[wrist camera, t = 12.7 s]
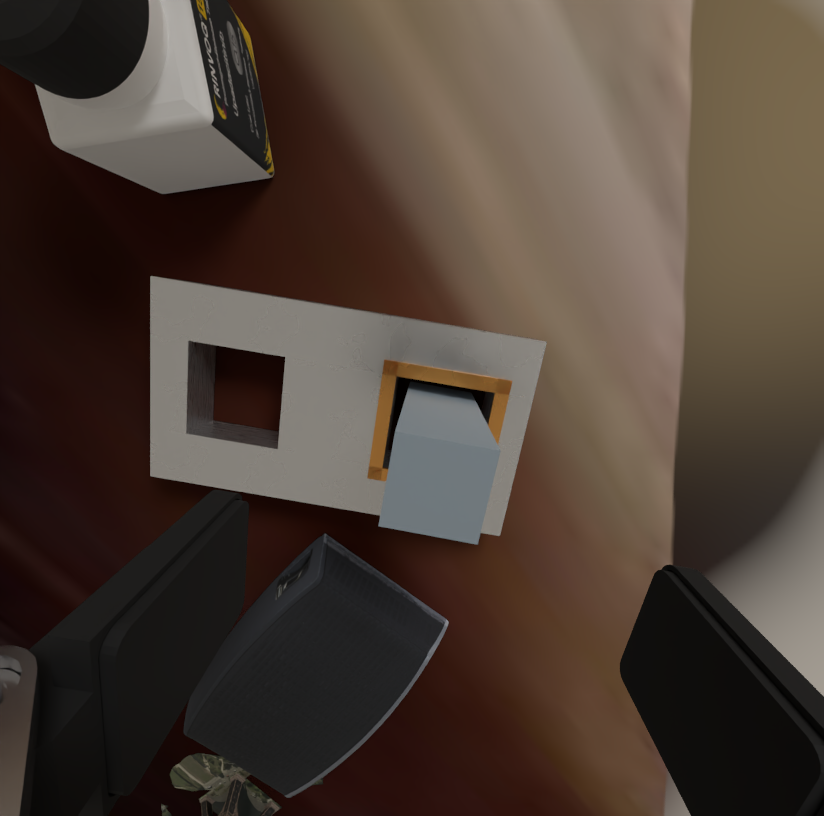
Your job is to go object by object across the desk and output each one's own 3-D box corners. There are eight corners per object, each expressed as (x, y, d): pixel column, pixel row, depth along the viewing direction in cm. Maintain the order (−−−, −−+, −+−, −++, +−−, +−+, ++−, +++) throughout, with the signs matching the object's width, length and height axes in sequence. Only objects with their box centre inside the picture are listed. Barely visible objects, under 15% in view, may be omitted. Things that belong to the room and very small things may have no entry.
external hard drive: (457, 621, 30) (461, 668, 26) (313, 763, 34) (297, 823, 30) (319, 522, 29) (301, 556, 25) (186, 683, 33) (152, 734, 29)
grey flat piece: (183, 280, 24) (147, 275, 21) (532, 338, 24) (547, 342, 21) (180, 458, 27) (148, 477, 24) (492, 512, 27) (500, 537, 24)
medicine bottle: (277, 179, 23) (117, 40, 11) (161, 196, 23) (-106, 81, 12) (251, 34, 21) (34, -304, 10) (128, 56, 22) (-220, -239, 10)
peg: (410, 381, 25) (395, 431, 15) (471, 392, 25) (500, 451, 15) (399, 439, 26) (378, 526, 16) (458, 450, 26) (477, 544, 16)
